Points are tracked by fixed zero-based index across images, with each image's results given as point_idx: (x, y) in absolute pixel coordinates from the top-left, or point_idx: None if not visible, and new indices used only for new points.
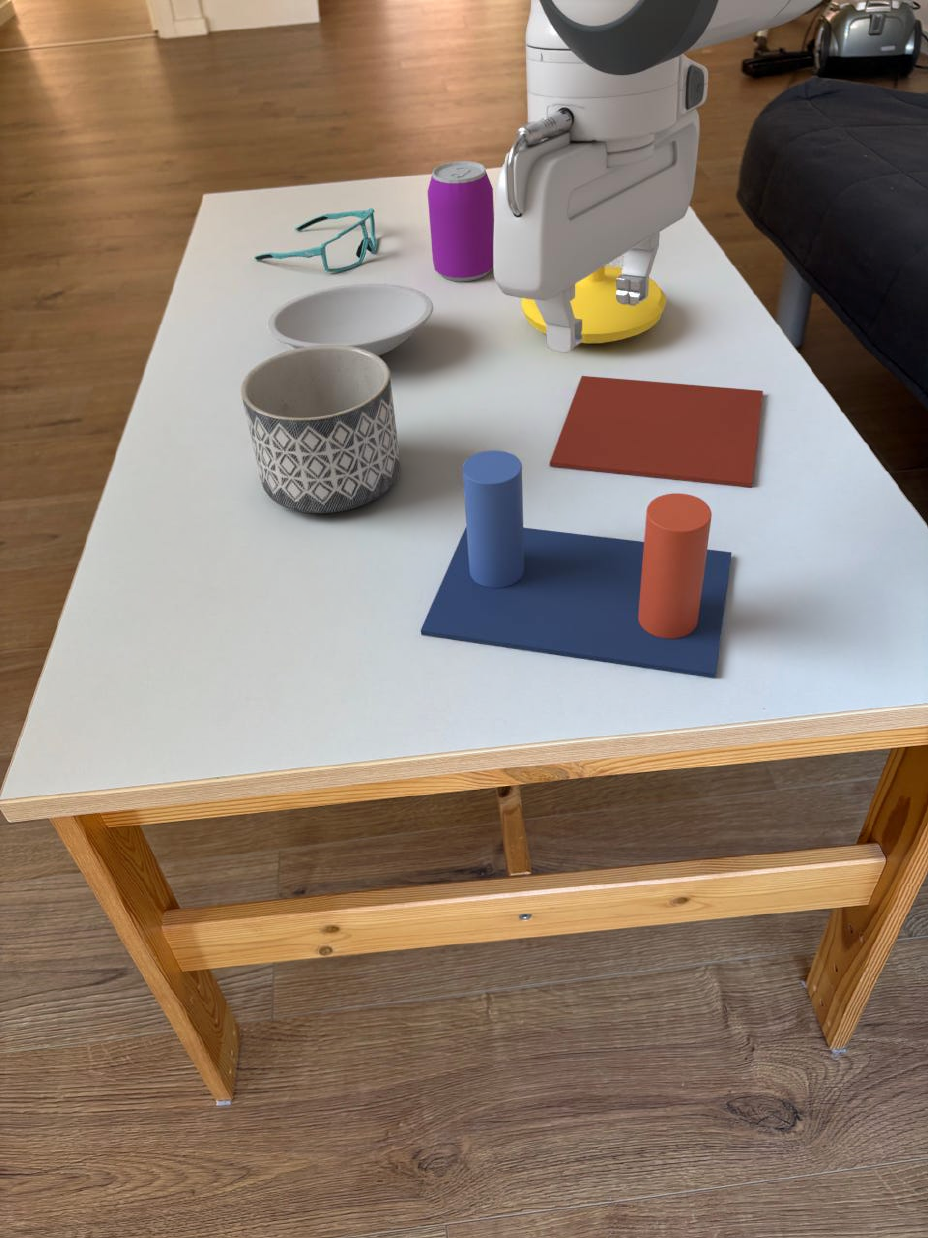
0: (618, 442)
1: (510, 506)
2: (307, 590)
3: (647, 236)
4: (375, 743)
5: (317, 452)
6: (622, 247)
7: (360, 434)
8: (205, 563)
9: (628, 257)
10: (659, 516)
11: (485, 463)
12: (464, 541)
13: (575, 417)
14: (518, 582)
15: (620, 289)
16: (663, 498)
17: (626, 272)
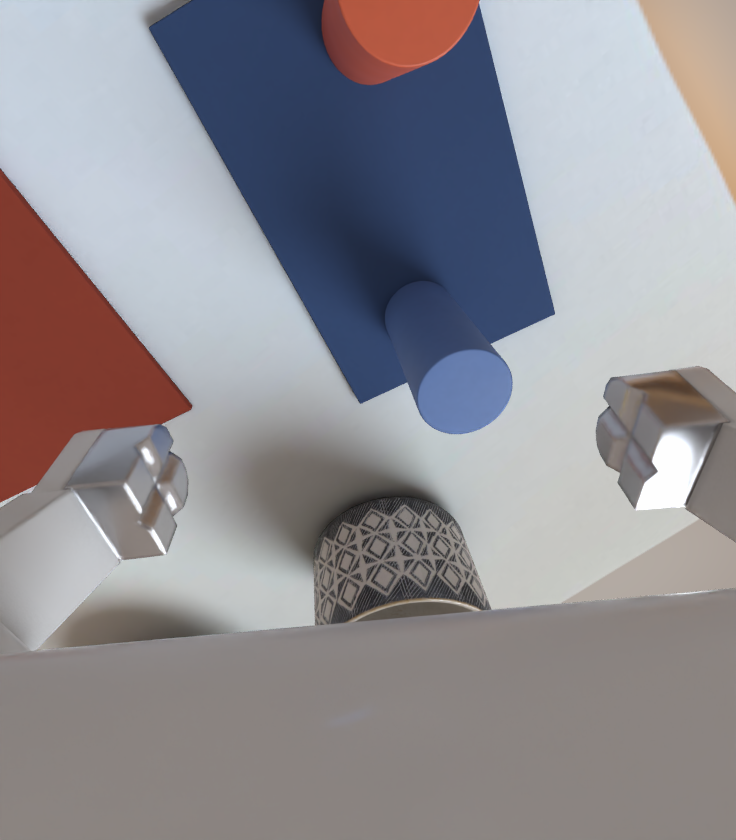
0: (75, 369)
1: (467, 328)
2: (542, 445)
3: (38, 672)
4: (720, 231)
5: (469, 572)
6: (470, 668)
7: (426, 566)
8: (550, 531)
9: (56, 610)
10: (452, 7)
11: (463, 406)
12: (395, 381)
13: None
14: (423, 278)
15: (170, 509)
16: (386, 44)
17: (104, 555)
